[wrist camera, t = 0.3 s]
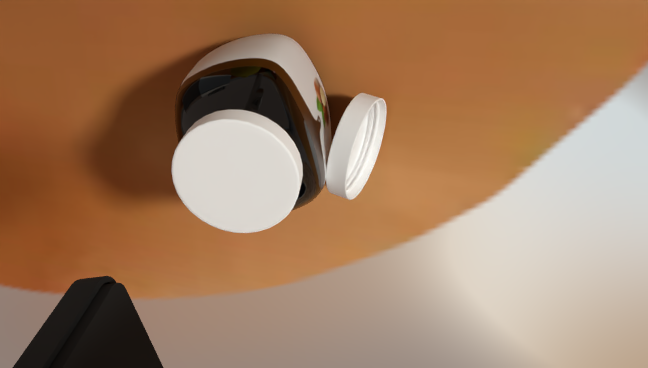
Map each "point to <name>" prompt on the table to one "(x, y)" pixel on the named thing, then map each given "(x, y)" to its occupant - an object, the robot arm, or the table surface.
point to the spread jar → (266, 135)
